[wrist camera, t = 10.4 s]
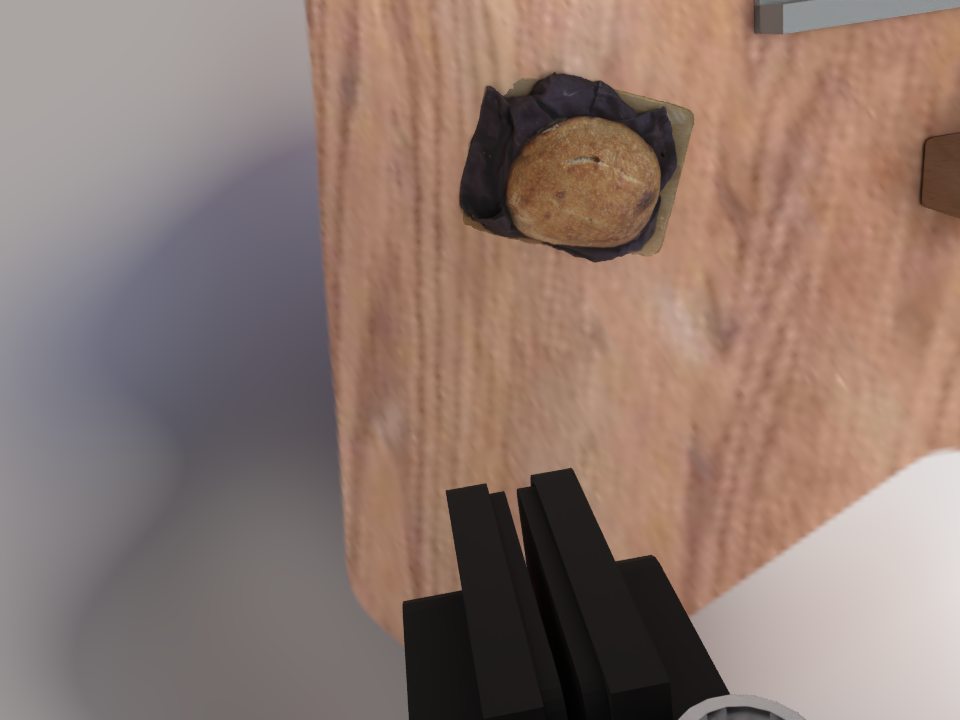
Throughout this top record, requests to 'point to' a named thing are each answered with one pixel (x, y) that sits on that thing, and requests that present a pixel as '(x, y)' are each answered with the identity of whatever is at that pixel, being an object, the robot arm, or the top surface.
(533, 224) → the bread roll
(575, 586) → the robot arm
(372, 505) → the top surface
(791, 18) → the tray
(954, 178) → the toy block structure
